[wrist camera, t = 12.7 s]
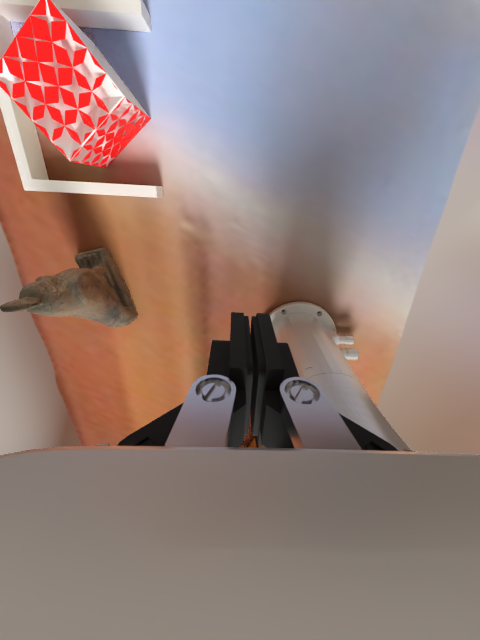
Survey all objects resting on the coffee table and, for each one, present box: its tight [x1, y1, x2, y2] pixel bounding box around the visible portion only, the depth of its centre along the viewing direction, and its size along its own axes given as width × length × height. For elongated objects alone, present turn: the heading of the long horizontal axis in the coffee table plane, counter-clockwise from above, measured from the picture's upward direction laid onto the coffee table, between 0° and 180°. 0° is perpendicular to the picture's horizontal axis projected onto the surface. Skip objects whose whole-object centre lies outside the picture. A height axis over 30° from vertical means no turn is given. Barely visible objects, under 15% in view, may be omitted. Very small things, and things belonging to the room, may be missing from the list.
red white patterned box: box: [0, 0, 151, 168], centre depth 26 cm, size 8×8×8 cm
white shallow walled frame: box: [0, 0, 163, 197], centre depth 28 cm, size 15×16×3 cm
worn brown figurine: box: [0, 247, 138, 327], centre depth 31 cm, size 12×6×18 cm, turn 8°
